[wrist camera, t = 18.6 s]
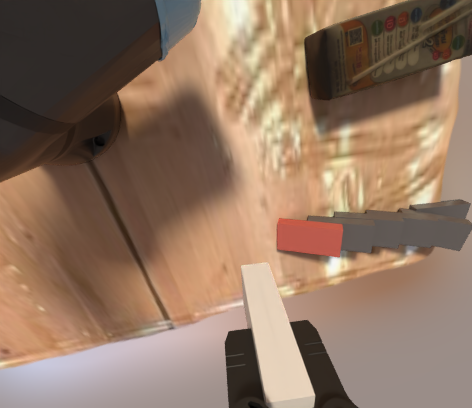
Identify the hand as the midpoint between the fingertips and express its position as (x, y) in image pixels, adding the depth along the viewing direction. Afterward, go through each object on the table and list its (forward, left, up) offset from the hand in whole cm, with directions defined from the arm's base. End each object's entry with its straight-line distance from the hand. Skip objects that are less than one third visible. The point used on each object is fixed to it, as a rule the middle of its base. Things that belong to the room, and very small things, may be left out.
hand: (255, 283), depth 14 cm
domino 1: (+13, -13, -25) cm, 31 cm away
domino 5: (+29, -13, -25) cm, 40 cm away
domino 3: (+23, -13, -25) cm, 37 cm away
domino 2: (+18, -13, -25) cm, 33 cm away
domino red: (+8, -13, -25) cm, 29 cm away
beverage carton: (+21, +14, -27) cm, 37 cm away
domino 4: (+32, -13, -26) cm, 43 cm away
